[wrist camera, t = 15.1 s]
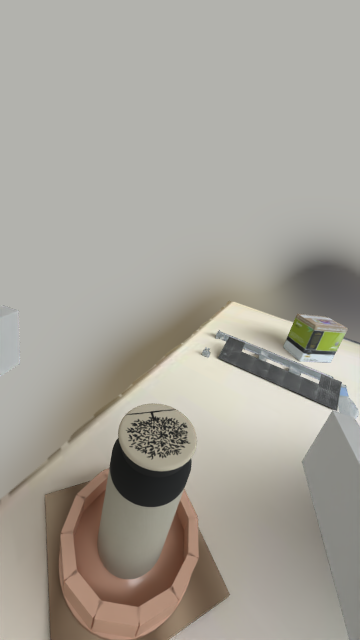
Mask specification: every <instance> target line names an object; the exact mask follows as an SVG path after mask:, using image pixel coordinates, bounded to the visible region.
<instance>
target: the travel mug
mask: <svg viewBox="0 0 360 640" xmlns="http://www.w3.org/2000/svg"><path fill="white" fill-rule="evenodd" d="M118 437H119V438H118V439H117V440H116V442H115V444H114V447H113V450H112V456H111V462H110V468H109V474H108V480H107V485H106V491H105V497H104V503H103V509H102V515H101V521H100V527H99V533H98V540H97V545H98V553H99V556H100V559H101V561H102V563H103V565H104V566H105V568H106V569H107V570H108V571H109V572H110V573H111V574H113V575H114V576H116V577H118V578H122V579H135V578H138V577H141V576H143V575H144V574H146V573H147V572H149V571H150V570H151V569H152V568H153V566H154V565H155V564H156V562H157V561H158V559H159V557H160V554H161V552H162V549H163V546H164V543H165V541H166V538H167V535H168V532H169V529H170V527H171V524H172V521H173V518H174V516H175V513H176V510H177V507H178V504H179V502H180V499H181V496H182V493H183V491H184V488H185V485H186V482H187V479H188V477H189V474H190V471H191V457H192V456H193V454H194V452H195V449H196V444H197V437H196V432H195V430H194V427H193V425H192V424H191V422H190V421H189V420H188V418H187V417H186V416H185V415H183V414H182V413H181V412H179V411H178V410H176V409H174V408H172V407H169V406H166V405H162V404H145V405H141V406H138V407H136V408H134V409H132V410H131V411H129V412H128V413H127V414H126V415H125V416H124V418H123V419H122V421H121V423H120V426H119V431H118Z"/></svg>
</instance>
